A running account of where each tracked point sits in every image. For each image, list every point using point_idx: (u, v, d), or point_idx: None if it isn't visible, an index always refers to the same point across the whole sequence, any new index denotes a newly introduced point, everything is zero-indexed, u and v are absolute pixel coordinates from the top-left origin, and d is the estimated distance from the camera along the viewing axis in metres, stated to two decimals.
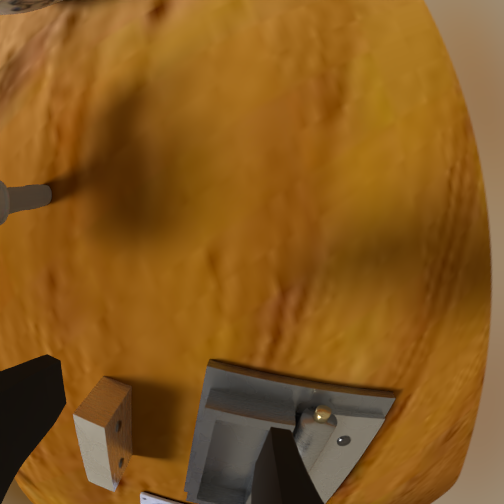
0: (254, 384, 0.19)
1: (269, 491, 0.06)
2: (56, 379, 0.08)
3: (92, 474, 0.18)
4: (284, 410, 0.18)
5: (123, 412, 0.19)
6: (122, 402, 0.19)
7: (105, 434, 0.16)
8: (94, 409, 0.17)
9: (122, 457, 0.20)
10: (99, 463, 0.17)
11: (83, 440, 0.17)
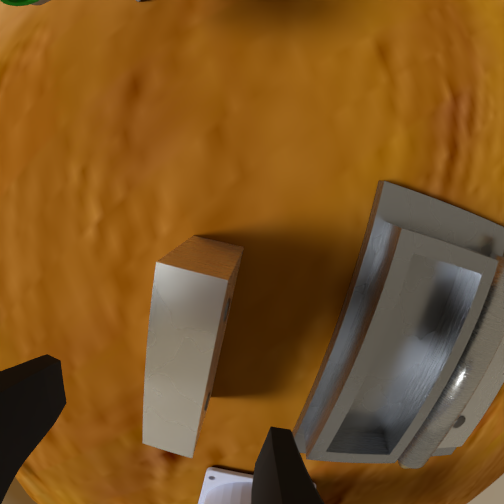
0: (439, 212, 0.13)
1: (269, 491, 0.06)
2: (55, 379, 0.08)
3: (157, 425, 0.12)
4: (474, 251, 0.12)
5: (232, 288, 0.13)
6: (238, 259, 0.13)
7: (223, 302, 0.10)
8: (196, 259, 0.11)
9: (209, 390, 0.14)
10: (181, 392, 0.11)
11: (160, 335, 0.11)
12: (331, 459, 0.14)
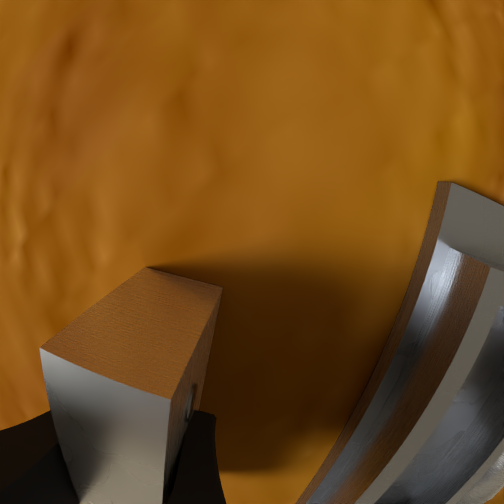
0: None
1: None
2: None
3: None
4: None
5: (202, 361, 0.08)
6: (209, 320, 0.07)
7: (168, 430, 0.04)
8: (122, 335, 0.05)
9: None
10: None
11: (78, 452, 0.05)
12: None
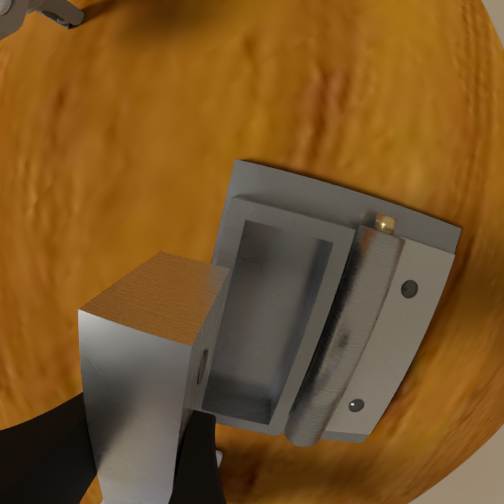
0: (295, 185, 0.15)
1: None
2: None
3: (119, 500, 0.07)
4: (335, 221, 0.15)
5: (212, 332, 0.09)
6: (219, 293, 0.08)
7: (187, 377, 0.06)
8: (148, 301, 0.07)
9: None
10: (142, 475, 0.07)
11: (102, 410, 0.06)
12: None
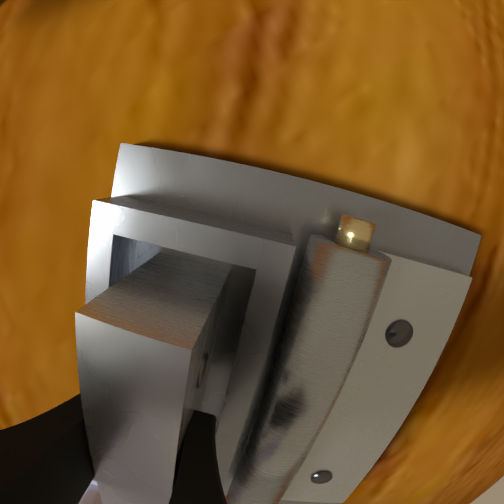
0: (206, 175, 0.10)
1: None
2: None
3: None
4: (269, 231, 0.09)
5: (212, 334, 0.09)
6: (219, 295, 0.08)
7: (187, 382, 0.06)
8: (146, 303, 0.07)
9: None
10: (141, 480, 0.06)
11: (99, 415, 0.06)
12: None
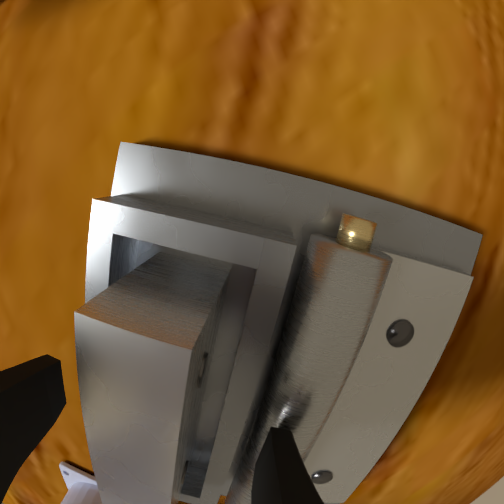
0: (206, 174, 0.09)
1: (269, 491, 0.06)
2: (55, 379, 0.08)
3: None
4: (269, 230, 0.09)
5: (212, 335, 0.09)
6: (219, 295, 0.08)
7: (187, 382, 0.05)
8: (146, 303, 0.06)
9: (186, 459, 0.09)
10: (141, 480, 0.06)
11: (99, 415, 0.06)
12: None
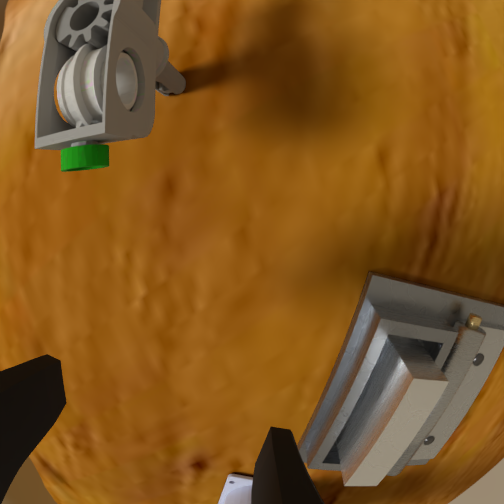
0: (414, 294, 0.17)
1: (269, 491, 0.06)
2: (55, 379, 0.08)
3: (364, 471, 0.15)
4: (441, 322, 0.17)
5: None
6: (426, 354, 0.16)
7: (441, 393, 0.13)
8: (421, 367, 0.14)
9: None
10: (395, 447, 0.14)
11: (398, 418, 0.13)
12: (326, 468, 0.18)
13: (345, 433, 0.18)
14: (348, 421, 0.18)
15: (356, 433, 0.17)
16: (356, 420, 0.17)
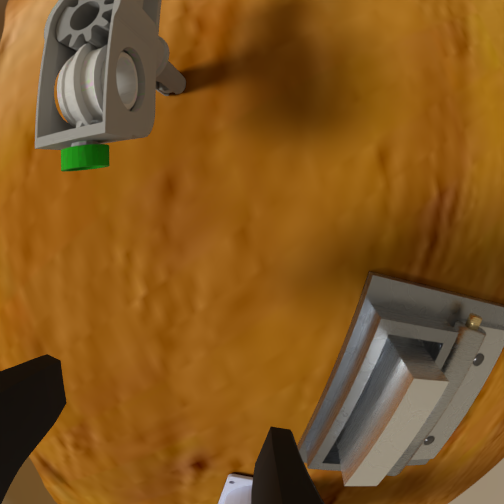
0: (415, 294, 0.17)
1: (269, 491, 0.06)
2: (55, 379, 0.08)
3: (364, 471, 0.15)
4: (441, 322, 0.17)
5: None
6: (426, 355, 0.16)
7: (442, 393, 0.13)
8: (421, 367, 0.14)
9: None
10: (395, 447, 0.14)
11: (398, 418, 0.13)
12: (326, 468, 0.18)
13: (346, 433, 0.18)
14: (348, 421, 0.18)
15: (356, 433, 0.17)
16: (356, 420, 0.17)
